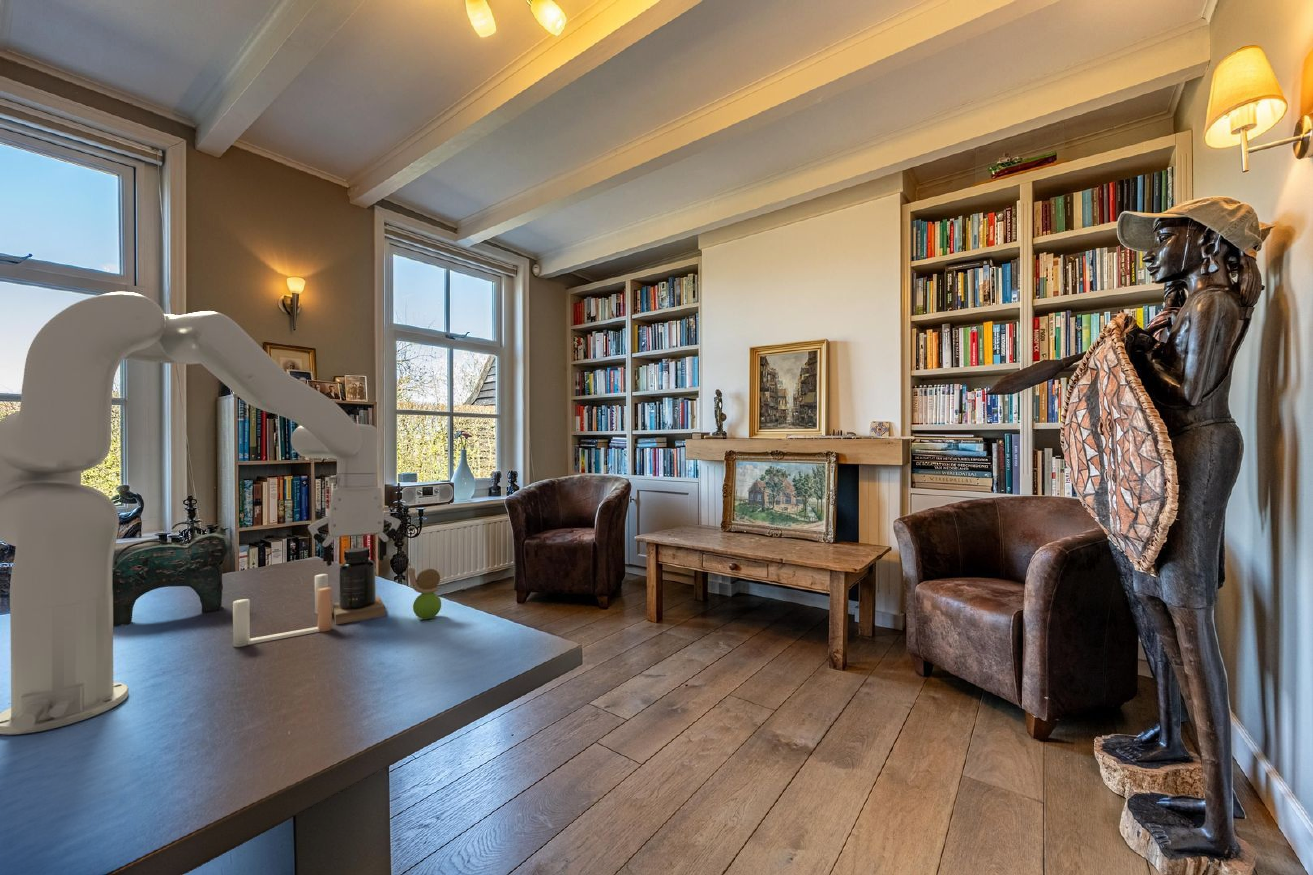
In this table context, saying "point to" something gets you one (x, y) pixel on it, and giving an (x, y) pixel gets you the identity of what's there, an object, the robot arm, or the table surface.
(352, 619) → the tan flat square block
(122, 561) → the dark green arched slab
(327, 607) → the post fence
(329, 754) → the table surface
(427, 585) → the snail figurine
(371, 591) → the supplement bottle
